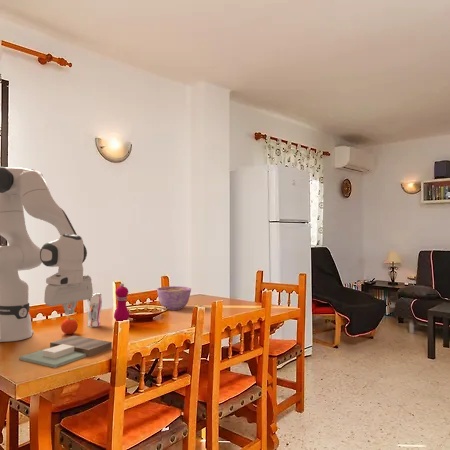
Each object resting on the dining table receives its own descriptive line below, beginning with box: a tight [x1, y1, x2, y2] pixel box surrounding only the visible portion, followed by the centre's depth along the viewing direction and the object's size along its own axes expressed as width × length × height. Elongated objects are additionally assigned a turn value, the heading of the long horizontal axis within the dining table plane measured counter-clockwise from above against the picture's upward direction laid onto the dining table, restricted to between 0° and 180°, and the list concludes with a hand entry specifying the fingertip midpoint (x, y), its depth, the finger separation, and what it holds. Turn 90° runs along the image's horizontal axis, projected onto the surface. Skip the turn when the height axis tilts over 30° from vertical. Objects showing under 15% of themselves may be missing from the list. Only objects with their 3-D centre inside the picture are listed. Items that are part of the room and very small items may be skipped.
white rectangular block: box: [42, 344, 74, 358], centre depth 151 cm, size 6×9×2 cm, turn 153°
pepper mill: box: [113, 282, 130, 323], centre depth 201 cm, size 7×7×20 cm
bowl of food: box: [156, 285, 192, 311], centre depth 242 cm, size 20×20×12 cm
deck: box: [49, 335, 113, 358], centre depth 161 cm, size 20×12×2 cm, turn 63°
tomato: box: [60, 317, 79, 335], centre depth 183 cm, size 8×7×7 cm
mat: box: [18, 346, 87, 369], centre depth 150 cm, size 18×14×1 cm
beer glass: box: [86, 292, 103, 328], centre depth 198 cm, size 7×7×15 cm
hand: (69, 314), depth 157 cm, fingers closed
